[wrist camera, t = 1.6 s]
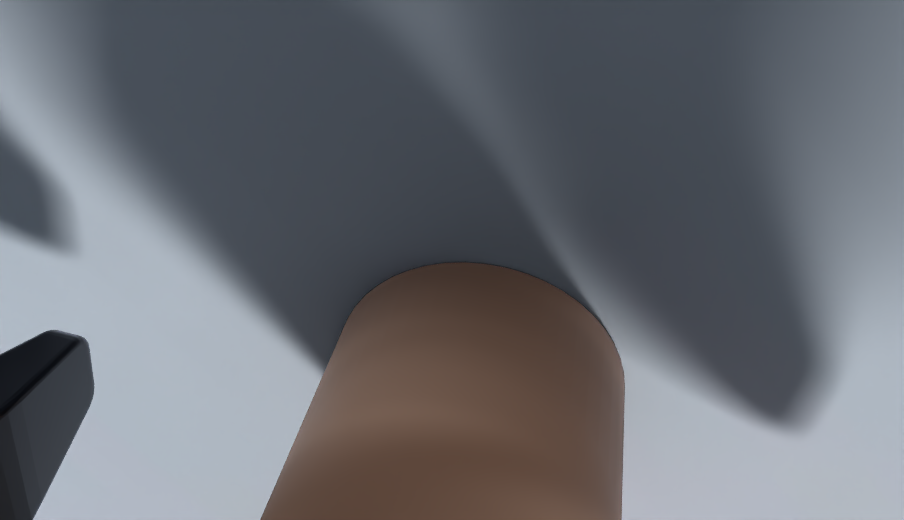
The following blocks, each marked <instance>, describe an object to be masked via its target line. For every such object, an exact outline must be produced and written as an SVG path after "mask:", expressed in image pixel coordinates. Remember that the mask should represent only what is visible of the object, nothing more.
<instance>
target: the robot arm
mask: <svg viewBox="0 0 904 520" xmlns="http://www.w3.org/2000/svg"><path fill="white" fill-rule="evenodd" d="M93 394H94V379H93V372H92V364H91V356H90V349H89V344H88V342H87V341H86V339H85V338H83V337H81V336H78V335H74V334H70V333H66V332H62V331H58V330H50V331H46V332H44V333H41V334H39V335H37V336H35V337H33V338H32V339H30V340H28V341H26V342H24V343H22V344H20V345H18V346H16V347H14V348H12V349H10V350H8V351H6V352H4V353H2V354H0V520H33V518H34V516H35V514H36V512H37V511H38V509H39V507H40V505H41V503H42V501H43V499H44V497H45V495H46V493H47V491H48V489H49V487H50V485H51V483H52V481H53V479H54V477H55V475H56V473H57V471H58V469H59V467H60V465H61V463H62V461H63V459H64V457H65V455H66V453H67V451H68V449H69V447H70V445H71V443H72V441H73V439H74V437H75V435H76V433H77V431H78V429H79V427H80V425H81V423H82V421H83V419H84V417H85V415H86V413H87V411H88V409H89V407H90V404H91V402H92V399H93Z"/></svg>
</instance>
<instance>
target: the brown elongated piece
mask: <svg viewBox="0 0 904 520" xmlns="http://www.w3.org/2000/svg"><path fill="white" fill-rule="evenodd" d="M624 397H625V383H624V371H623V367H622V363H621V359H620V356H619V354H618V352H617V349H616V347H615V345H614V343H613V341H612V340H611V338H610V336H609V335H608V333H607V332H606V330H605V329H604V327H603V326H602V325H601V324H600V323H599V321H598V320H597V319H596V318H595V317H594V316H593V315H592V314H591V313H590V312H589V311H588V310H587V309H586V308H585V307H584V306H583V305H581V304H580V303H579V302H578V301H576V300H575V299H573V298H572V297H571V296H569V295H568V294H566V293H565V292H564V291H562V290H560V289H558V288H556V287H555V286H553V285H551V284H549V283H547V282H545V281H543V280H541V279H538V278H536V277H533V276H531V275H529V274H526V273H523V272H519V271H516V270H512V269H509V268H505V267H500V266H494V265H489V264H480V263H468V262H460V263H442V264H435V265H428V266H423V267H419V268H416V269H412V270H408V271H406V272H403V273H401V274H398V275H396V276H394V277H391V278H390V279H388V280H386V281H385V282H383V283H381V284H379V285H378V286H376V287H375V288H374V289H373V290H371V291H370V292H369V293H368V294H366V295H365V296H364V297H363V298H362V300H361V301H360V302H359V303H358V304H357V305H356V306H355V308H354V309H353V311H352V312H351V314H350V316H349V317H348V319H347V321H346V323H345V326H344V328H343V330H342V333H341V335H340V337H339V340H338V342H337V344H336V346H335V349H334V351H333V353H332V356H331V358H330V360H329V363H328V365H327V367H326V370H325V372H324V374H323V376H322V379H321V381H320V383H319V386H318V388H317V390H316V393H315V395H314V397H313V400H312V402H311V404H310V406H309V409H308V411H307V413H306V416H305V418H304V420H303V423H302V425H301V427H300V430H299V432H298V434H297V436H296V439H295V441H294V443H293V446H292V448H291V450H290V453H289V455H288V457H287V460H286V462H285V464H284V466H283V469H282V471H281V473H280V476H279V478H278V480H277V483H276V485H275V487H274V490H273V492H272V494H271V496H270V499H269V501H268V503H267V506H266V508H265V510H264V513H263V515H262V517H261V520H621V516H622V477H623V437H624Z"/></svg>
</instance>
